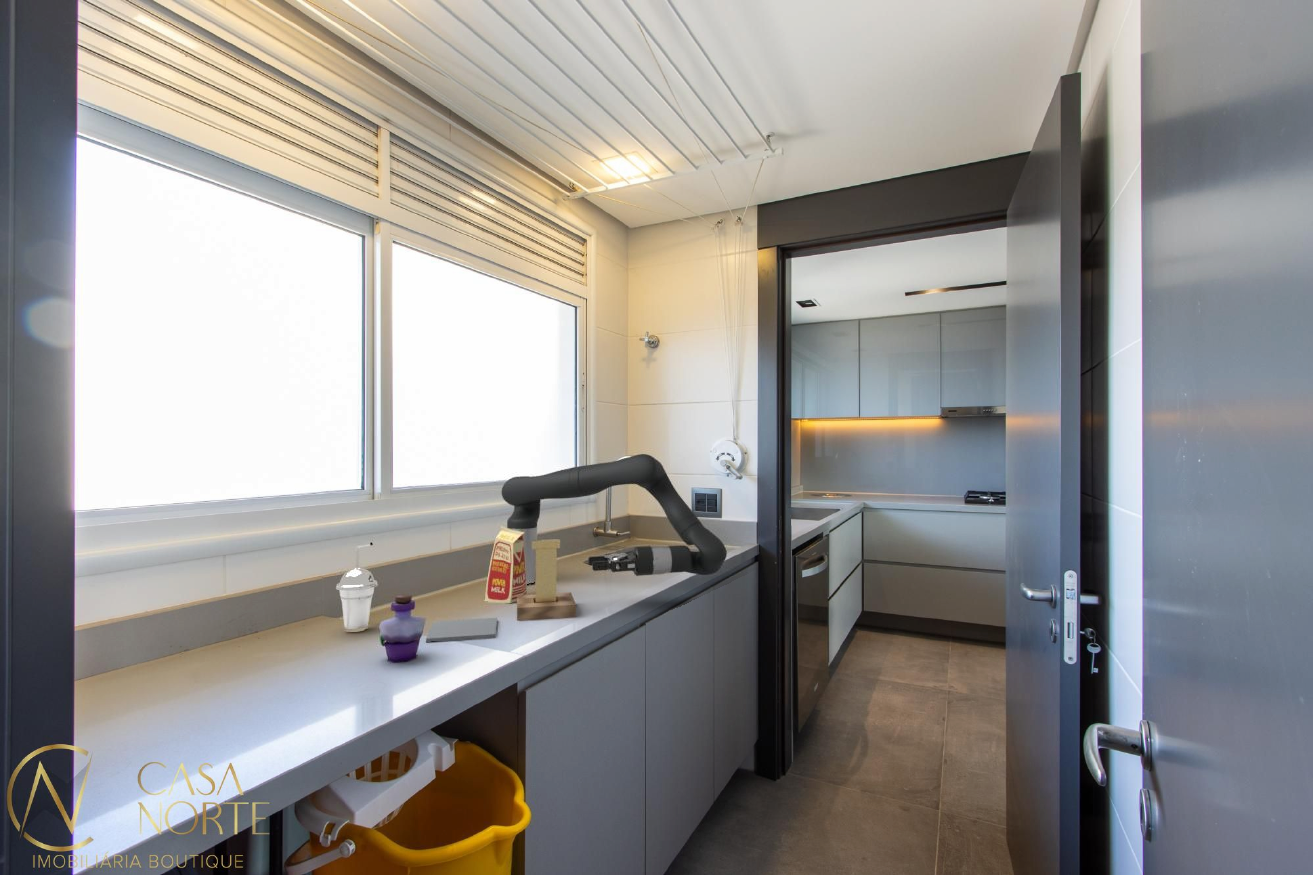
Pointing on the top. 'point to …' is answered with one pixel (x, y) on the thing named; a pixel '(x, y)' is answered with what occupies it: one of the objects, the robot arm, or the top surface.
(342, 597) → the cup with straw
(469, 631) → the slate mat
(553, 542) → the pale yellow tall block
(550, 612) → the socket block
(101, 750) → the top surface
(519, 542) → the milk carton
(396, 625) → the potion bottle
